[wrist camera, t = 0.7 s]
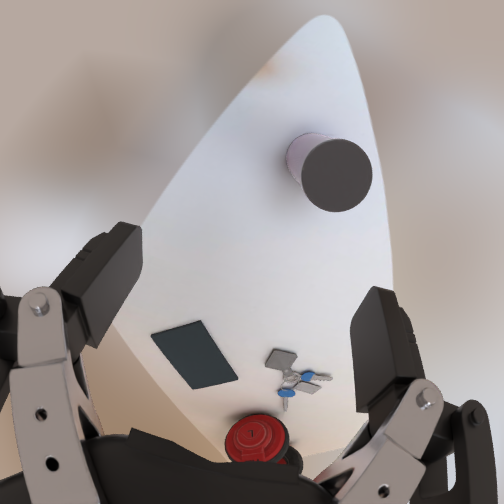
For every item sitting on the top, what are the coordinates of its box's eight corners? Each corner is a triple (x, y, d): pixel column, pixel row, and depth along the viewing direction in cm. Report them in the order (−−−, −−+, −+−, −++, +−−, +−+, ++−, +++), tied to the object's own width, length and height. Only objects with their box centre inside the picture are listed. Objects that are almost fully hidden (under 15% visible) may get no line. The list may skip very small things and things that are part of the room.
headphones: (219, 412, 42) (214, 528, 24) (281, 401, 40) (295, 523, 22) (253, 453, 49) (256, 541, 31) (302, 445, 48) (314, 534, 30)
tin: (277, 142, 25) (290, 152, 18) (328, 125, 24) (361, 130, 17) (295, 192, 27) (314, 222, 20) (344, 175, 26) (379, 198, 19)
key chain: (260, 351, 35) (260, 356, 35) (325, 335, 35) (326, 339, 34) (283, 409, 41) (283, 413, 41) (335, 396, 41) (336, 400, 40)
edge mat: (151, 334, 34) (150, 336, 34) (200, 320, 33) (200, 322, 33) (193, 387, 39) (192, 389, 38) (238, 377, 38) (238, 379, 37)
